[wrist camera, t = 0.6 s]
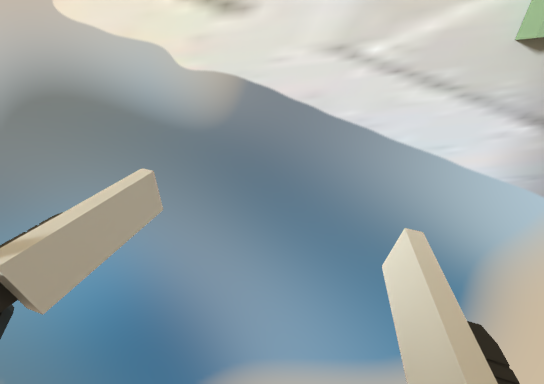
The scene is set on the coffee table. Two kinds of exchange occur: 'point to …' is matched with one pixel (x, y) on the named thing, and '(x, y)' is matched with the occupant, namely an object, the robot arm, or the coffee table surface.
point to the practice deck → (533, 21)
